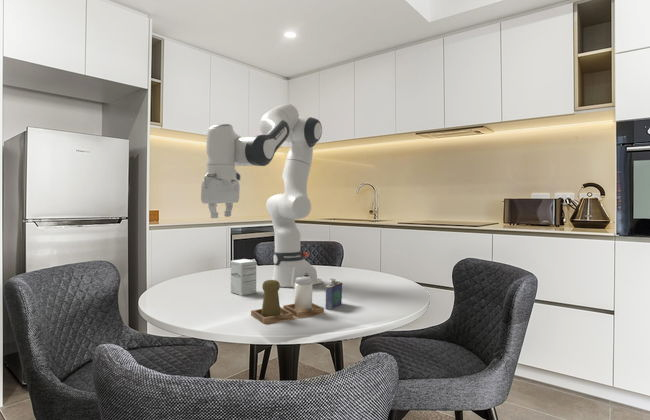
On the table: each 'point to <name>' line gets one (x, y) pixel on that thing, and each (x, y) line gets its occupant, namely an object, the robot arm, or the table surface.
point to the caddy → (287, 314)
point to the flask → (333, 294)
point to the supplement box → (243, 276)
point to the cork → (271, 298)
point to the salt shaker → (303, 293)
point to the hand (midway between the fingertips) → (221, 217)
